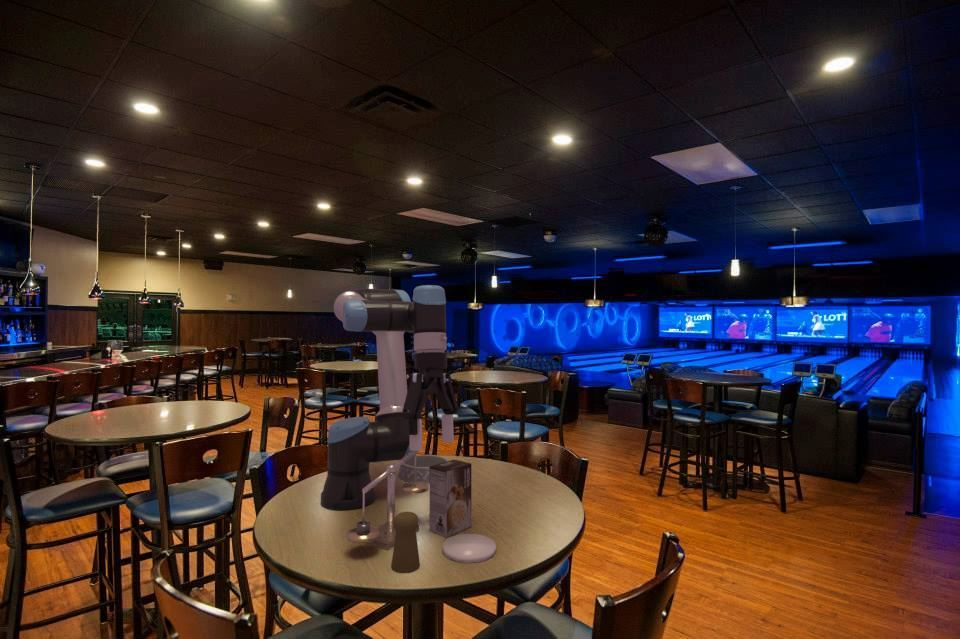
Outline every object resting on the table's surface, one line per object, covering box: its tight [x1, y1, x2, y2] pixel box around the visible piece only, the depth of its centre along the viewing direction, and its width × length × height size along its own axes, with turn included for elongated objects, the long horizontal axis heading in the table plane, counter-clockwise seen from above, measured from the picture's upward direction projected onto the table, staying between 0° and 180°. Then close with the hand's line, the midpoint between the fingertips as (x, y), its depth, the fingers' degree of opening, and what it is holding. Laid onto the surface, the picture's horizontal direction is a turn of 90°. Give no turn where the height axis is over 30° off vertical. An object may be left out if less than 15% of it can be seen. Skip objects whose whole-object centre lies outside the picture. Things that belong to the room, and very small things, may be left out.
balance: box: [346, 450, 430, 551], centre depth 119 cm, size 8×26×19 cm, turn 151°
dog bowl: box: [397, 454, 449, 485], centre depth 168 cm, size 17×18×5 cm
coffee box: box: [428, 459, 472, 538], centre depth 124 cm, size 9×6×16 cm
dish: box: [442, 533, 497, 564], centre depth 112 cm, size 12×12×1 cm
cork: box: [390, 511, 421, 574], centre depth 104 cm, size 6×6×11 cm
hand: (432, 446), depth 112 cm, fingers open, 13 cm apart
